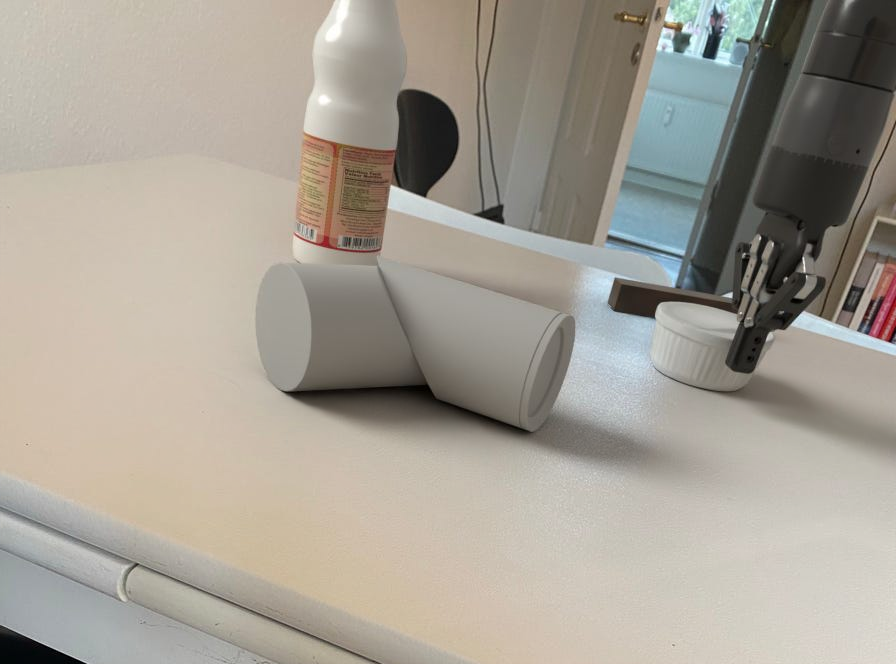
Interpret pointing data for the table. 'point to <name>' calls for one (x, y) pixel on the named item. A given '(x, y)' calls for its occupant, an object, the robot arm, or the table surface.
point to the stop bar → (658, 297)
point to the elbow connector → (412, 337)
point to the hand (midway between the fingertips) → (737, 369)
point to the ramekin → (698, 346)
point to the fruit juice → (350, 135)
